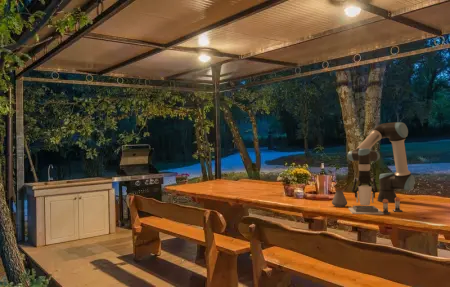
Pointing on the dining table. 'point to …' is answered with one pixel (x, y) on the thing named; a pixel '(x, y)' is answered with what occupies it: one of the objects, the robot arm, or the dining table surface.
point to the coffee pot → (339, 198)
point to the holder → (365, 210)
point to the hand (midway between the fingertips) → (364, 202)
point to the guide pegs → (397, 209)
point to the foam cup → (364, 194)
